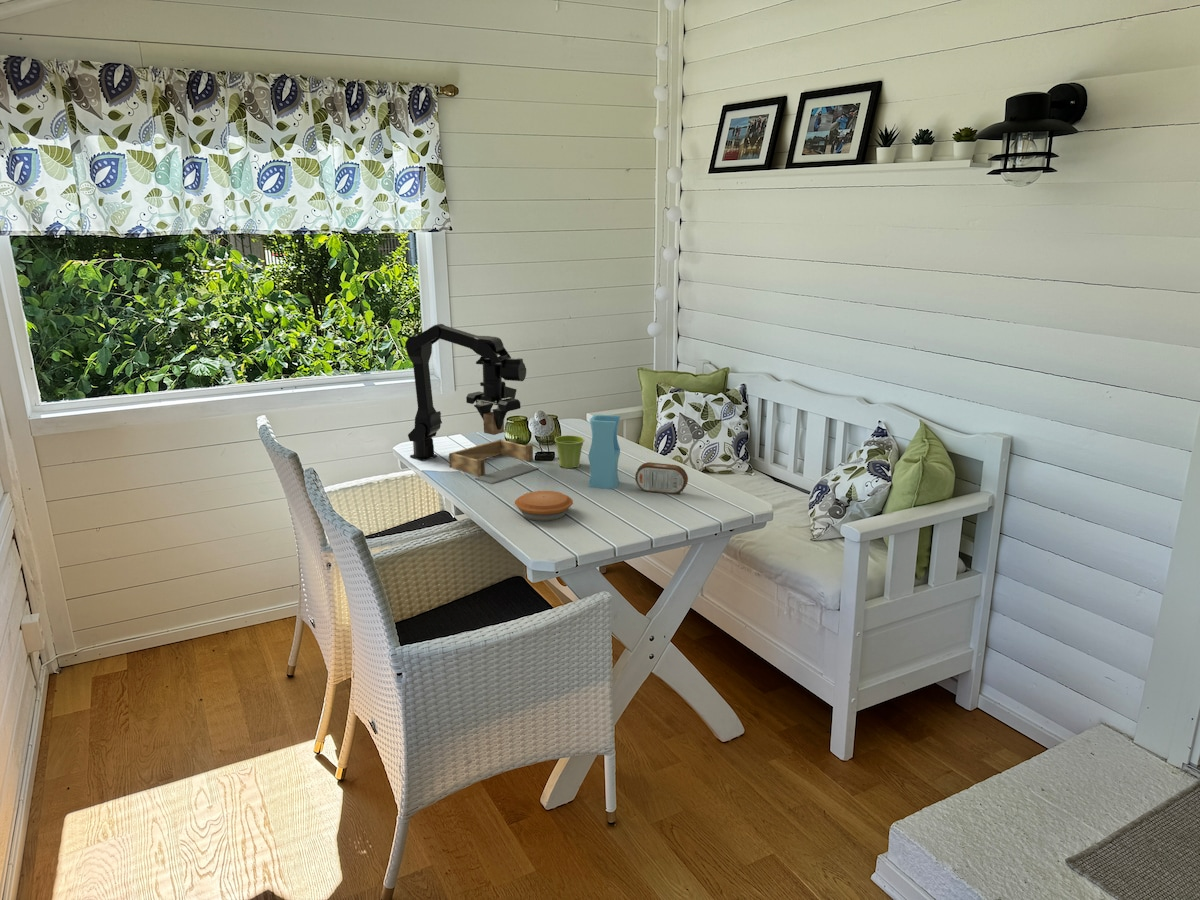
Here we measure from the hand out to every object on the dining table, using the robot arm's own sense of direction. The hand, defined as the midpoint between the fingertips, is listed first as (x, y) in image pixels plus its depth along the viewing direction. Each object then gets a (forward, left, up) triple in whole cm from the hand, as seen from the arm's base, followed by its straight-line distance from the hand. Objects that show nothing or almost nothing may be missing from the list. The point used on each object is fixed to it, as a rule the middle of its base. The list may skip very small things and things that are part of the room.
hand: (493, 428), depth 273 cm
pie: (+42, -22, -12) cm, 49 cm away
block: (0, 0, -1) cm, 1 cm away
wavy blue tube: (+38, +8, -12) cm, 41 cm away
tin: (+55, +13, -12) cm, 58 cm away
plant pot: (+18, +15, -12) cm, 27 cm away
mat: (+9, -4, -12) cm, 16 cm away
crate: (-2, 0, -12) cm, 12 cm away
